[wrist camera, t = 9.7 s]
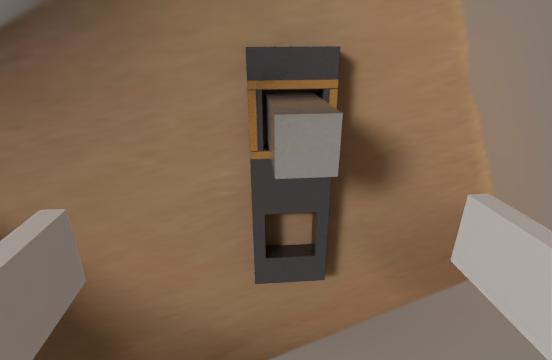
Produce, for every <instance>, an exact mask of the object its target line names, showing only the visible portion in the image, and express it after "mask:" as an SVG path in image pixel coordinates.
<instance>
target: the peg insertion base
mask: <svg viewBox="0 0 552 360" xmlns="http://www.w3.org/2000/svg"><path fill="white" fill-rule="evenodd" d="M339 58H340V47H246V63H247V89H248V113H249V138H250V162H251V187H252V212H253V237H254V262H255V284H264V283H281V282H297V281H314V280H324V279H325V264H326V250H327V235H328V220H329V205H330V191H331V177H317V178H289V179H275V177H274V171H273V166H272V161H271V156H270V151H269V146H268V143H266V144H263V120H262V90H294V89H318V96H319V97H320V98H321V99H323V100H324V101H326V102H327V103H329V104H330V105H332V106H333V107H334V108H336V109H337V95H338V89H337V88H338V81H339V80H338V73H339ZM310 212H313V221H312V243H311V244H307V245H287V246H268V247H265V214H287V213H310Z"/></svg>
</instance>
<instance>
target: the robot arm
mask: <svg viewBox="0 0 552 360" xmlns="http://www.w3.org/2000/svg"><path fill="white" fill-rule="evenodd" d="M451 262H452V263H453V264H454V265H455V266H456V267H457V268H458V269H459V270H460V271H461V272H462V273H463V274H464V275H465V276H466V277H467V278H468V279H469V280H470V281H471V282H472V283H473V284H474V285H475V286H476V287H477V288H478V289H479V290H480V291H481V292H482V293H483V294H484V295H485V296H486V297H487V298H488V299H489V300H490V301H491V302H492V303H493V305H495V307H496V308H498V310H499V311H500V312H501V313H502V314H503V315H504V316H505V317H506V318H507V319H508V320H509V321H510V322H511V323H512V324H513V325H514V326H515V327H516V328H517V329H518V330H519V331H520V332H521V333H522V334H523V335H524V336H525V337H526V338H527V339H528V340H529V341H530V342H531V343H532V344H533V345H534V346H535V347H536V348H537V349H538V350H539V351H540V352H541V353H542V354H543V356H545V358H547V360H552V231H551V230H550V229H548V228H546V227H544V226H543V225H541V224H539V223H538V222H536V221H534V220H533V219H531V218H529V217H527V216H526V215H524V214H522V213H521V212H519V211H517V210H515V209H514V208H512V207H510V206H509V205H507V204H505V203H504V202H502V201H500V200H498V199H497V198H495V197H493V196H492V195H490V194H474V195H468V198H467V201H466V205H465V209H464V212H463V216H462V220H461V224H460V227H459V231H458V235H457V238H456V242H455V246H454V250H453V253H452V257H451ZM86 281H87V280H86V277H85V273H84V270H83V266H82V263H81V259H80V256H79V252H78V249H77V245H76V242H75V238H74V235H73V231H72V228H71V224H70V221H69V217H68V213H67V210H66V209H58V210H39V211H38V212H37V213H36V214H34V215H33V216H32V217H30V218H29V219H28V220H27V221H25V222H24V223H23V224H21V225H20V226H19V227H18V228H16V229H15V230H14V231H12V232H11V233H10V234H9V235H7V236H6V237H5V238H4V239H2V240H1V241H0V360H33V359H34V357H35V356H36V354H37V353H38V351H39V350H40V348H41V347H42V345H43V344H44V343H45V341H46V340H47V338H48V337H49V335H50V334H51V332H52V331H53V329H54V328H55V326H56V325H57V324H58V322H59V321H60V319H61V318H62V316H63V315H64V313H65V312H66V310H67V309H68V307H69V306H70V305H71V303H72V302H73V300H74V299H75V297H76V296H77V294H78V293H79V291H80V290H81V288H82V287H83V286H84V284H85V283H86Z"/></svg>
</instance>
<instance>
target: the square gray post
mask: <svg viewBox="0 0 552 360" xmlns="http://www.w3.org/2000/svg"><path fill="white" fill-rule="evenodd" d="M266 108H267V141H268V146H269V151H270V156H271V161H272V166H273V171H274V177H275V179H289V178H317V177H338V170H339V157H340V144H341V131H342V118H343V113H342V112H340V111H339V110H337V109H336V108H334V107H333V106H332V105H330V104H329V103H327V102H326V101H324V100H323V99H321V98H320V97H319V96H317V95H316V94H314V93H313V92H296V93H266Z"/></svg>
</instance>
